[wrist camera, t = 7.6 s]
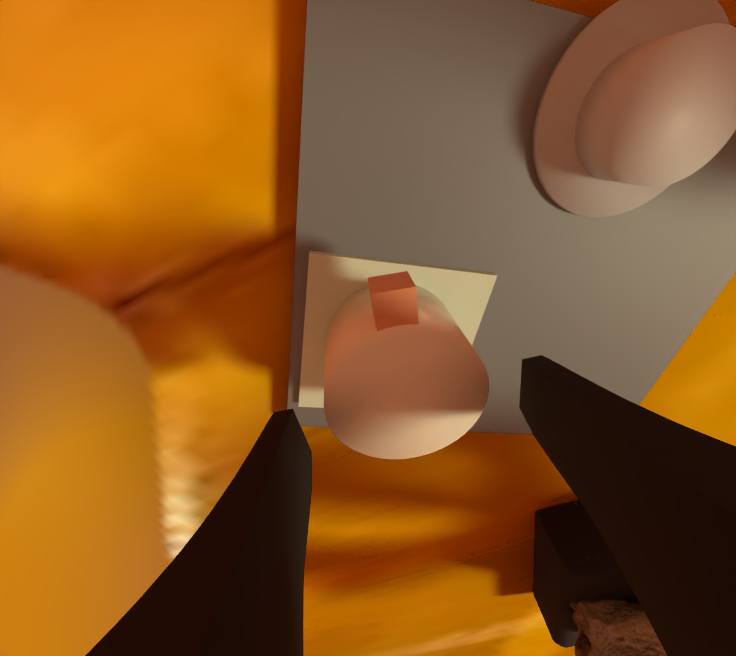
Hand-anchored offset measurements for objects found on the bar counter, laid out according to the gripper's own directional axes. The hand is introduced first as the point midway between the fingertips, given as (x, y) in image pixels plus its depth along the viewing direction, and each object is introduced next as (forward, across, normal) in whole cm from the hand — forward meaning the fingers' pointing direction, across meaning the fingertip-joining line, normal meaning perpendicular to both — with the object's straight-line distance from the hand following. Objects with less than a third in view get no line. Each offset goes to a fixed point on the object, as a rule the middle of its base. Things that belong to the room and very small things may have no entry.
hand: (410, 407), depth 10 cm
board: (+5, -6, -1) cm, 7 cm away
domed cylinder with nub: (+4, 0, 0) cm, 4 cm away
